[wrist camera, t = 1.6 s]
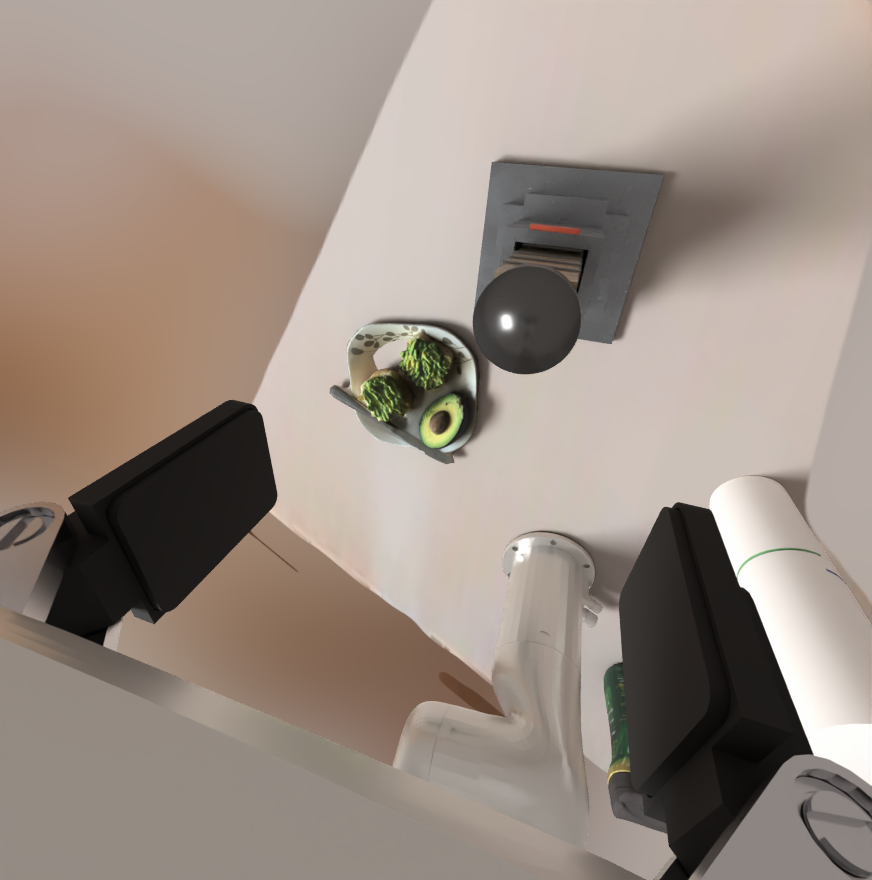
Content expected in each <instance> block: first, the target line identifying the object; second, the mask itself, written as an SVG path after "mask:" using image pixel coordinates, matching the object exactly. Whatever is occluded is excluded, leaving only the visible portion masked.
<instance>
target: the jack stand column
mask: <svg viewBox="0 0 872 880" xmlns="http://www.w3.org/2000/svg"><path fill="white" fill-rule="evenodd" d="M582 253H583V249H575V248H566V247H558V246H549V245H541V244H532V243H523V246H522V247H521V248H520V249H519V250H518V251H516V250H515V251H514V253H513V255H509V258H508V260H503V265H502V266H501V267H499V268H498V269H497V270H496V271H495V276H494V279H493V280H492V281H491V282H490V283H489V284H488V285H487V287H486V288H485V289H484V290H483V292H482V293H481V295H480V296H479V299H478V301H477V303H476V306H475V309H474V314H473V330H474V335H475V339H476V341H477V344H478V346H479V348H480V349H481V351H482V352H483V354H484V355H485V356H486V357H487V358H488V359H489V360H490V361H491V362H492V363H493V364H495V365H496V366H498V367H499V368H501V369H503V370H506V371H508V372H512V373H517V374H534V373H539V372H543V371H545V370H548V369H550V368H552V367H554V366H555V365H557V364H558V363H560V362H561V361H562V360H563V359H564V358H565V357H566V356H567V355H568V354H569V353H570V351H571V350H572V348H573V347H574V345H575V343H576V341H577V338H578V335H579V332H580V326H581V304H580V299H579V296H578V294H577V291H576V290H577V286H578V282H579V278H580V274H581V266H582V264H581V263H582V258H581V257H582Z"/></svg>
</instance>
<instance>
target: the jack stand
mask: <svg viewBox="0 0 872 880" xmlns="http://www.w3.org/2000/svg"><path fill="white" fill-rule="evenodd" d="M663 177H664V175H658V174H645V173H632V172H619V171H606V170H592V169H579V168H566V167H553V166H540V165H527V164H513V163H500V162H492V166H491V174H490V182H489V191H488V199H487V207H486V216H485V224H484V233H483V241H482V249H481V258H480V266H479V274H478V283H477V291H476V300H475V306H476V303H477V301H478V299H479V296H480V295H481V293H482V292H483V290H484V289H485V288H486V287H487V285H488V284H489V283H490V282H491V281H492V280H493V279H494V276H495V271H496V270H497V269H498V268H499V267H501V266H502V265H503V260H508V258H509V255H513V253H514V251H515V250H516V251H518V250H519V249H520V248H521V247H522V246H523V243H532V244H541V245H549V246H558V247H566V248H575V249H583V253H582V257H581V258H582V263H581V264H582V266H581V274H580V278H579V282H578V286H577V290H576V291H577V294H578V296H579V299H580V304H581V326H580V332H579V335H578V338H577V339H583V340H589V341H595V342H601V343H607V344H612V341H613V338H614V334H615V331H616V328H617V325H618V322H619V318H620V315H621V312H622V309H623V306H624V302H625V299H626V296H627V293H628V290H629V286H630V283H631V280H632V277H633V274H634V270H635V267H636V264H637V261H638V258H639V254H640V251H641V248H642V245H643V241H644V238H645V235H646V232H647V229H648V225H649V222H650V219H651V216H652V213H653V209H654V206H655V203H656V200H657V197H658V193H659V190H660V187H661V184H662V181H663ZM474 309H475V308H474Z"/></svg>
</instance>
